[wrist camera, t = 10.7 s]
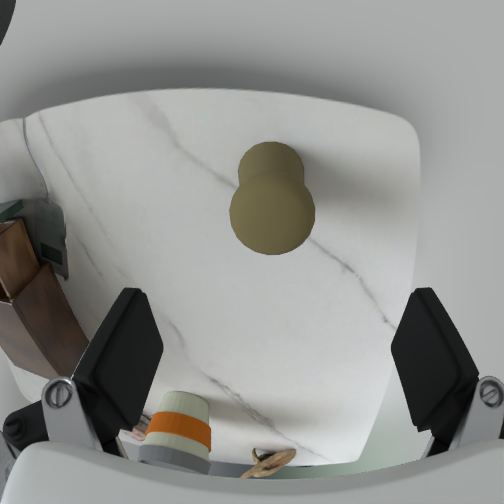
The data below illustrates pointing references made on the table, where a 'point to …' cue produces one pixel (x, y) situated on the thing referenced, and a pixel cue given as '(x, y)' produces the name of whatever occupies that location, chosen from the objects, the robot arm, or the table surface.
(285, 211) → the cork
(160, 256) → the table surface
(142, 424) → the packaged product
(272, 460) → the dried bracket fungus
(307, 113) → the table surface
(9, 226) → the drawer
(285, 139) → the table surface
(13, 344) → the cabinet
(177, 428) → the reusable coffee cup
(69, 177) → the table surface
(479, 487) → the robot arm
